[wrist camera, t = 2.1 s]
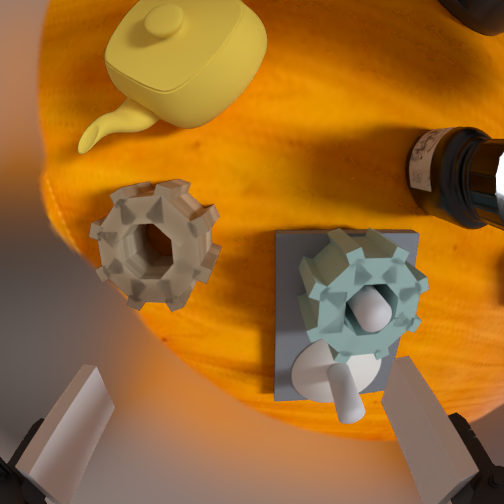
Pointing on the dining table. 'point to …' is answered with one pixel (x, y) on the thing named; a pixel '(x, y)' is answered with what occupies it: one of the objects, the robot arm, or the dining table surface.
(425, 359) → the dining table surface
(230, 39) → the teapot
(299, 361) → the gear board
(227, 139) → the dining table surface
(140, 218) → the birch gear
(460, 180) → the ink bottle
